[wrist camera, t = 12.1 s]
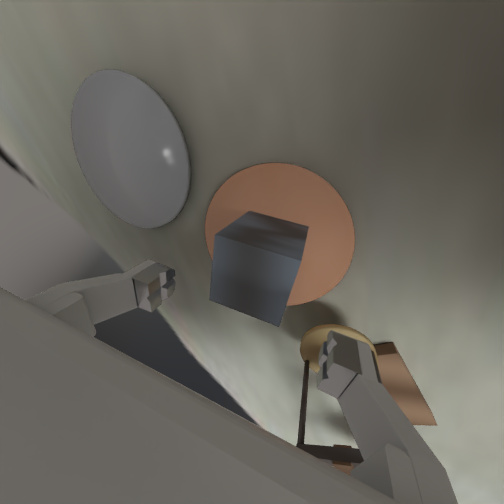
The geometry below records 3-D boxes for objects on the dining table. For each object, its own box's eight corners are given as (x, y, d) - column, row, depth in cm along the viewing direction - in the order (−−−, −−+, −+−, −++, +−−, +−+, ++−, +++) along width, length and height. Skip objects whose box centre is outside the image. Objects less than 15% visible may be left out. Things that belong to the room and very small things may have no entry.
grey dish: (196, 84, 15) (187, 78, 14) (193, 238, 21) (186, 242, 20) (69, 67, 17) (53, 61, 16) (99, 208, 23) (89, 211, 22)
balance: (452, 450, 21) (657, 909, 8) (374, 444, 25) (429, 752, 12) (363, 288, 17) (498, 723, 4) (285, 311, 21) (220, 568, 8)
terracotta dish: (384, 182, 13) (389, 184, 12) (321, 315, 20) (321, 323, 19) (216, 148, 16) (209, 147, 15) (207, 274, 22) (201, 280, 21)
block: (309, 226, 15) (301, 261, 10) (291, 277, 17) (278, 326, 12) (249, 210, 16) (214, 234, 11) (241, 260, 18) (209, 299, 13)
